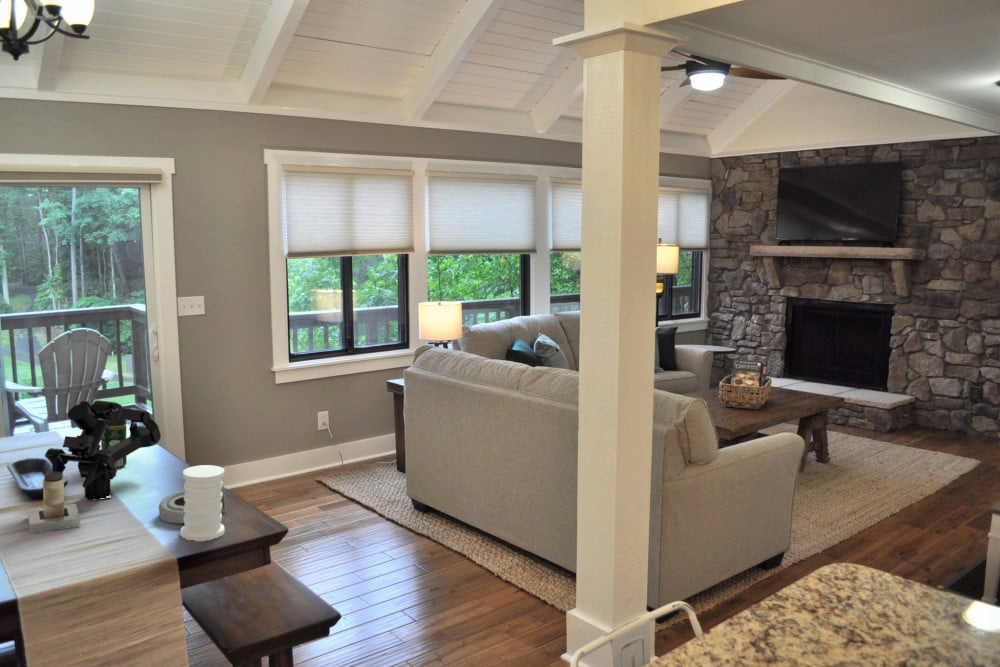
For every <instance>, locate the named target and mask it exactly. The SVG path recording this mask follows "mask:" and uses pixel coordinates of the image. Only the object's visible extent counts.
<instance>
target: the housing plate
mask: <svg viewBox="0 0 1000 667" xmlns="http://www.w3.org/2000/svg"><path fill="white" fill-rule="evenodd" d="M64 516H65V517H59V518H51V519H44V507H38V508H28V509H27V519H28V520H27V521H28V528H29V534H34V533H35V532H36V533H41V532H40V531H43V532H50V531H49V530H51V531H56V530H55V529H59V530H62V529H61V528H66V529H68V528H67V527H73V526H79V525H80V526H81V517H80V514H79V510H78V506H77V504H76V503H72V504H64ZM47 530H48V531H47Z"/></svg>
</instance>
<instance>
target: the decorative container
mask: <svg viewBox="0 0 1000 667" xmlns="http://www.w3.org/2000/svg"><path fill="white" fill-rule="evenodd" d="M225 474H226V473H225V468H223V467H221V466H217V465H212V464H207V465H206V464H202V465H201V464H199V465H194V466H190V467H187V468H185V469H183V470H182V478H183V480H185V482H184V484H183V489H184V490H185V494H184V501H185V505H184V508H183V509H184V512H185V516H184V519H183V521H184V523H183V524H184V526H182V527H181V528H180V532H179V534H180V537H181V536H182V537H183V538H185V539H184V540H186V539H188V540H187V541H190V540H195V541H194V542H207V540H208V541H212V539H213V540H216V539H218V537H219V538H221V537H222V536H224V535H225V532H226V529H225V525H224V524H223V523H221V522H222V520H223V515H222V514H223V513H221V510H222V503H221V499H222V497H223V494H222V493H223V491H222V489H223V486H224V483H223V480H222V479H223V478H224V477H225ZM220 536H221V537H220ZM182 537H181V538H182ZM183 538H182V539H183ZM215 538H216V539H215Z"/></svg>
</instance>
